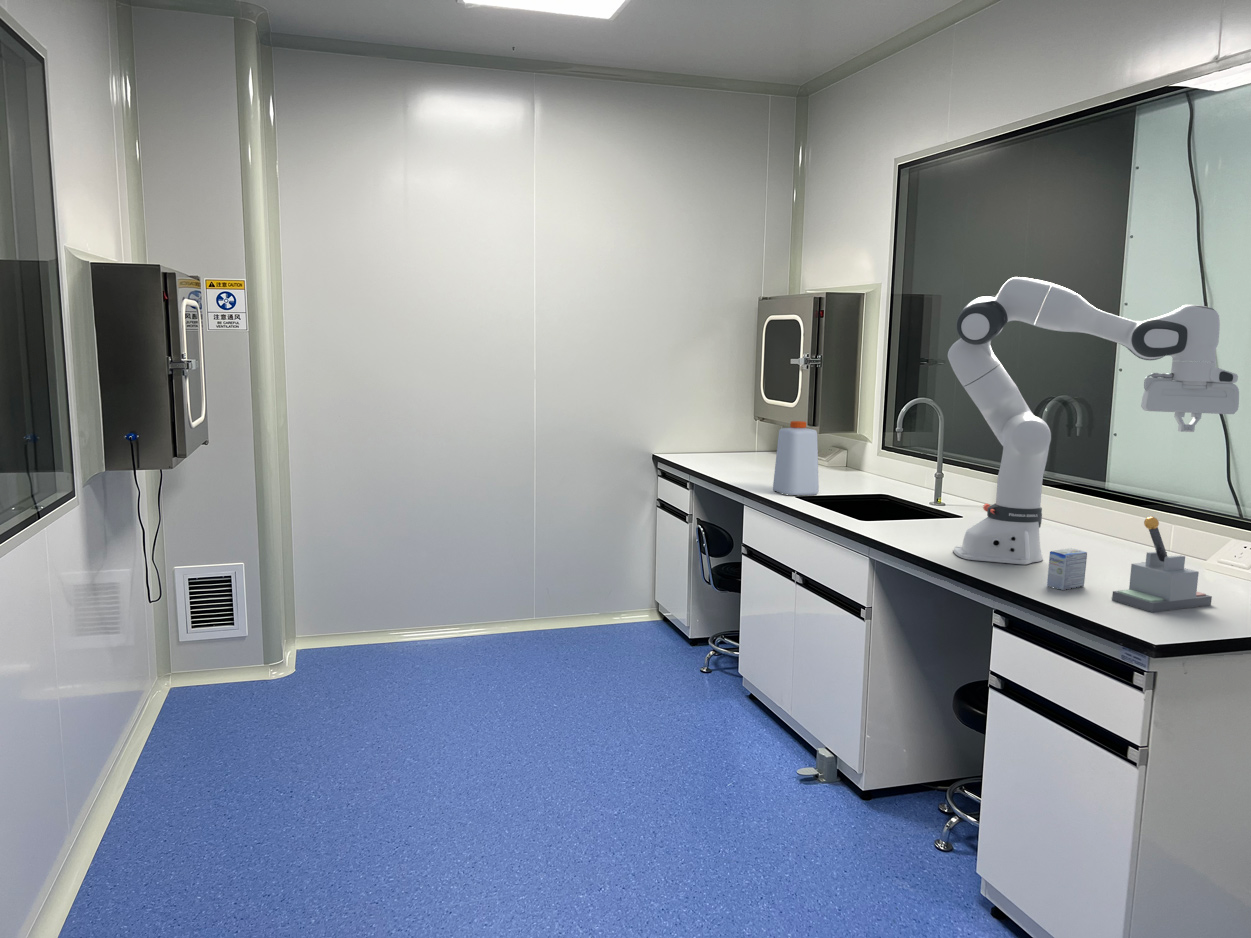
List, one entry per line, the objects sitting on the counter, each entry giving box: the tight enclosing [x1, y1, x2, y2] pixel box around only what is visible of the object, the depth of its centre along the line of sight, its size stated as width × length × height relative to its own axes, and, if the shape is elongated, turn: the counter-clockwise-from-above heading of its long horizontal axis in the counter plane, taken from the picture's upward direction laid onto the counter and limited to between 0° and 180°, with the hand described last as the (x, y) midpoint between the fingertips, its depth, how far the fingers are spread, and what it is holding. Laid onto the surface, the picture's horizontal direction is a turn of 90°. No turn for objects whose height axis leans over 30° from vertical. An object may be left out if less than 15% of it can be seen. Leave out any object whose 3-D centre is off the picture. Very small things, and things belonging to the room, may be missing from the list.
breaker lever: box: [1143, 516, 1169, 562], centre depth 194 cm, size 3×3×12 cm
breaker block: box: [1111, 551, 1213, 613], centre depth 196 cm, size 18×10×11 cm, turn 111°
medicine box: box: [1046, 547, 1088, 591], centre depth 209 cm, size 8×4×9 cm, turn 118°
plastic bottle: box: [772, 420, 820, 496], centre depth 341 cm, size 15×15×28 cm
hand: (1185, 431), depth 212 cm, fingers closed
